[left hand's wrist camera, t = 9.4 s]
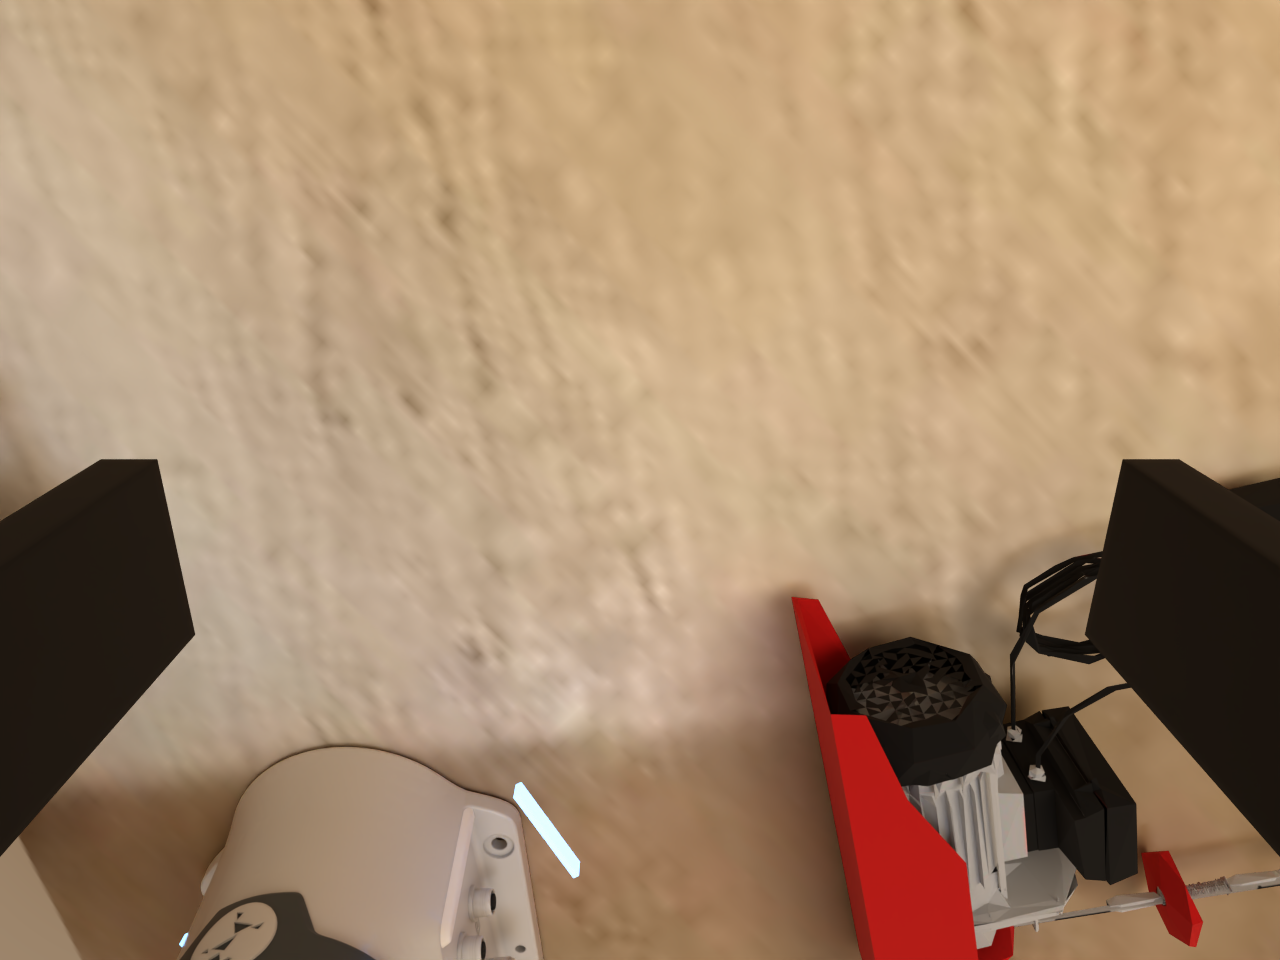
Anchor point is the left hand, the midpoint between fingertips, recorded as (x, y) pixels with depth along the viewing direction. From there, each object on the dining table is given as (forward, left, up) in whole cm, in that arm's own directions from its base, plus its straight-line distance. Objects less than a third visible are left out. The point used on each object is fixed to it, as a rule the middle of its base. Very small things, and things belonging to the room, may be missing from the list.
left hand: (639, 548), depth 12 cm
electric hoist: (+24, +25, -28) cm, 45 cm away
